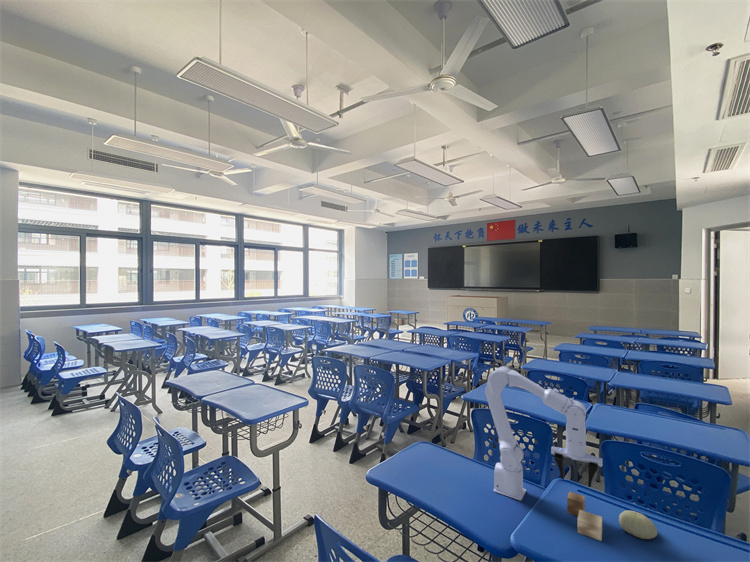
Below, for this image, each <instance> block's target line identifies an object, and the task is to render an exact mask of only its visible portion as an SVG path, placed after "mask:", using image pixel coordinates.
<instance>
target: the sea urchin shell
mask: <svg viewBox="0 0 750 562" xmlns="http://www.w3.org/2000/svg"><path fill="white" fill-rule="evenodd" d="M618 522H619V525H620V527H621V528H622V529H623V531H625V532H627V533H628V534H629V535H632V536H634V537H635V538H639V539H643V540H652V539H654V538H655V537H657V536H658V528H657V527H656V526H655V524H654V522H652V520H651V519H650V518H648V517H647V516H646V515H644V514H643V513H640V512H637V511H635V510H624V511H622V512H621V513H620V514H619V517H618Z"/></svg>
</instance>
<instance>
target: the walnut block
mask: <svg viewBox="0 0 750 562" xmlns="http://www.w3.org/2000/svg"><path fill="white" fill-rule="evenodd" d="M566 498H567V502H566V503H567V505H566V507H567V510H566V512H567V514H569V515H571V516H575V517H578V514H579V510H582V511H585V512H586V504H585V503H586V502H585V501H586V499H585V498H586V496H585V495H583V494H578V493H575V492H572V491H569V492H568V494H567V497H566Z"/></svg>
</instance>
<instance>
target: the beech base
mask: <svg viewBox="0 0 750 562" xmlns="http://www.w3.org/2000/svg"><path fill="white" fill-rule="evenodd" d="M577 533H578V534H581V535H583V536H587V537H589V538H592V539H594V540H597V541H600V542H602V540H603V539H602V537H603V516H601V515H597V514H594V513H592V512H588V511H586V510H585V511H582V510H579V514H578V516H577Z"/></svg>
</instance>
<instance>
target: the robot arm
mask: <svg viewBox="0 0 750 562" xmlns="http://www.w3.org/2000/svg"><path fill="white" fill-rule="evenodd" d="M507 385H508V387H509V388H510V387H511V388H512V387H519V388H522V389H523V390H525V391H527V392H530V394H533V395H535V396H537V397H539V398H540V399H541V400H542V403H543V404H544V405H546V406H548V407H550V408H551V409H553V410H555V411H556V412H559V414H561V415H564V417H565V418H566V423H565V447H558V446H554V445H553V446H551V448H550V449H551V450H550V454H551V455H554V457H553V458H554V461H555V462H556V465H557V467H558V470H559V473H560V477H561V479H562V480H564V479H565V477H566V476H565V475H566V473H565V458H569V459H571V460H573V461H581V462H585V463H588V466H587V469H588V480H587V482H588V483H587V487H588V488H591V487H592V482H593V479H594V476H595V474H596V473H597V471H598V468H599V467H600V468H602V467H603V458H601V457H599V456H594V455H593V454H590V453H587V428H586V418H587V416H586V415H587V409H586V407H585V405H584V404H583V403H582V402H580V401H579V400H574V398H572V397H570V398H569V397H567V396H565V395H563V394H562V393H560V390H558V389H557V388H555V389H554V388H553V389H552V388H547V389H545V388H543V387H542V385H541V386H540V385H539V384H538V383H536V382H534V381H532V380H531V379H529V378H528V377H526V376H524V375H522V374H521V373H519V372H518V371H516V370H514V369H511V368H510V367H508V366H505V365H503V366H499V367H498V368H497V369H495V370H493V371H492V372H491V373H489V376H488V377H487V382H486V385H485V386H486V387H485V390H484V393H485V396H486V400H487V404H488V407H489V411H490V414H491V416H492V419H493V420H492V421H493V424H494V426H495V429H496V433H497V436H498V439H499V452H500V459H499V460H500V462H496V463H495V467H494V471H493V479H494V480H493V492H494V493H496V494H497V493H498V494H501V495H502V496H507V497H509V498H512V499H515V500H518V501H522V500H523V498H524V496H525V494H526V492H527V489H526V488H524V479H523V478H524V466H523V464H522V462H521V461H522V460H523V458H524V456H525V455H524V451H523V449H522V447H521V446H520V445H519V443H518V441H517V439H516V437H515V436H514V434H513V430H512V428H511V424H510V420H509V418H508V415H507V411H506V408H505V405H504V403H503V398H502V395H501V393H502V391H504V389H505V387H506V386H507Z"/></svg>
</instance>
